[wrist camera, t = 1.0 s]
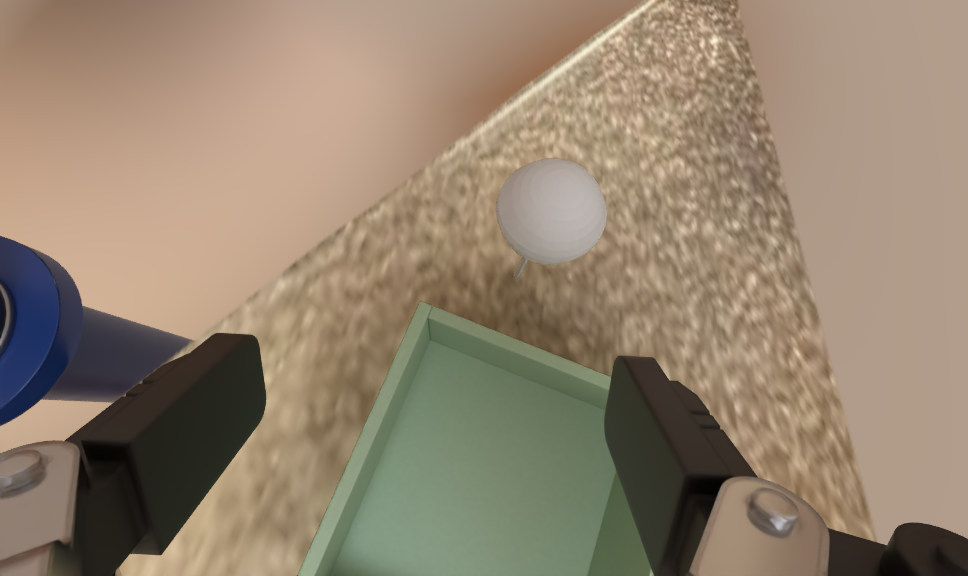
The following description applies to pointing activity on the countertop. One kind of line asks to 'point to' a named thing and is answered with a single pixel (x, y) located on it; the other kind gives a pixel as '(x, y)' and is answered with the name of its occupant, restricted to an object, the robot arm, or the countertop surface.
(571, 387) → the bin
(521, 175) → the lollipop
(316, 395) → the countertop surface
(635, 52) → the countertop surface
